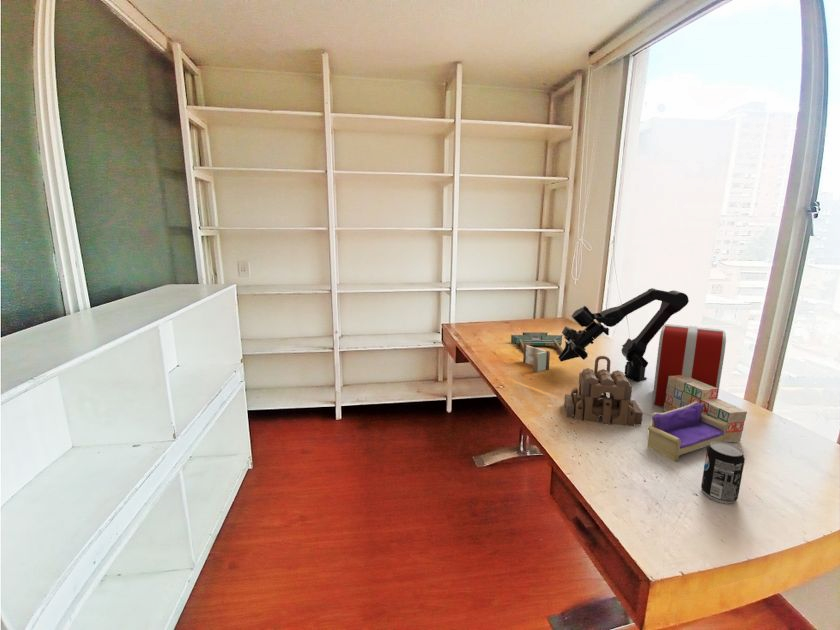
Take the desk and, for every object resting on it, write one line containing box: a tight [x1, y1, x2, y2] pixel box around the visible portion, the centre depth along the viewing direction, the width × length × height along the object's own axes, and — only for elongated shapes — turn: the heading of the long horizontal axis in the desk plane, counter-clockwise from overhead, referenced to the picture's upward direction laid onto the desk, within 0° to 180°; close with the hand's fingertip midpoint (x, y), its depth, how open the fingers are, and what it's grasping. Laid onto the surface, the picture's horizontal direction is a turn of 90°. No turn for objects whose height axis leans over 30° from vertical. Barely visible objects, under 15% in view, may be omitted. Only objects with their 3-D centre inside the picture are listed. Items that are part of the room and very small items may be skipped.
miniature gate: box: [510, 331, 564, 355], centre depth 200 cm, size 27×6×30 cm
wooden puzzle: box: [563, 355, 644, 427], centre depth 126 cm, size 22×15×19 cm, turn 74°
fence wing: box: [532, 352, 547, 373], centre depth 164 cm, size 6×2×8 cm, turn 115°
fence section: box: [522, 345, 551, 371], centre depth 171 cm, size 14×2×8 cm, turn 35°
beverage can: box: [700, 441, 746, 505], centre depth 87 cm, size 7×7×12 cm
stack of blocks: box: [663, 375, 748, 443], centre depth 118 cm, size 21×6×12 cm, turn 11°
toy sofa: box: [647, 401, 728, 462], centre depth 107 cm, size 21×9×10 cm, turn 112°
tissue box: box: [651, 323, 727, 408], centre depth 132 cm, size 16×18×27 cm
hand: (559, 359), depth 161 cm, fingers open, 2 cm apart
